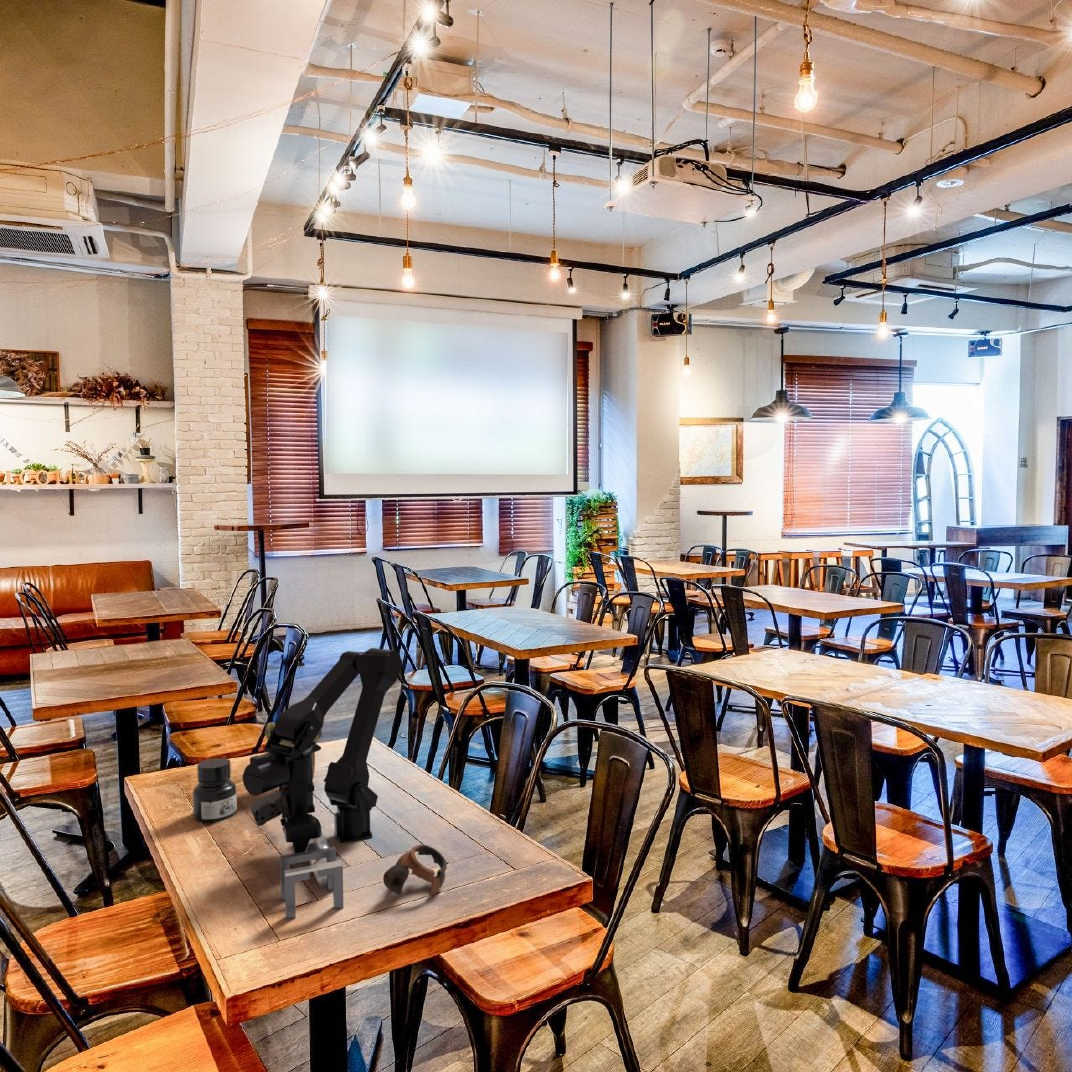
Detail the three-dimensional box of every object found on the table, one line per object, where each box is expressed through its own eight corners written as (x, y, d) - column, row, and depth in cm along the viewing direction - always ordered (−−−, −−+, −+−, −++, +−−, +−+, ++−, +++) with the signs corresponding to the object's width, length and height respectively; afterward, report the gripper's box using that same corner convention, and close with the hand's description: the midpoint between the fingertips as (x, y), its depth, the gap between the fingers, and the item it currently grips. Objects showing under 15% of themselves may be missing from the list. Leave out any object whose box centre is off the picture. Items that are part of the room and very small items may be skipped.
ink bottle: (205, 828, 171) (204, 773, 171) (183, 819, 177) (182, 765, 176) (246, 814, 179) (245, 761, 178) (224, 805, 184) (222, 753, 184)
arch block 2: (342, 906, 139) (341, 860, 138) (343, 909, 138) (342, 862, 137) (285, 918, 135) (284, 870, 135) (286, 921, 134) (285, 873, 133)
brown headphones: (411, 871, 151) (431, 836, 150) (440, 909, 146) (461, 872, 145) (363, 882, 142) (383, 845, 141) (392, 923, 136) (414, 884, 135)
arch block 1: (335, 888, 145) (334, 846, 145) (336, 891, 144) (335, 849, 144) (281, 899, 141) (279, 856, 141) (281, 902, 140) (280, 859, 140)
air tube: (295, 825, 163) (316, 816, 165) (301, 845, 164) (323, 836, 166) (314, 871, 143) (338, 860, 145) (321, 893, 144) (345, 882, 146)
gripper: (249, 769, 159) (251, 846, 160) (256, 802, 142) (258, 888, 143) (307, 761, 164) (308, 836, 165) (320, 792, 147) (322, 876, 147)
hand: (298, 858), depth 155 cm, fingers closed
